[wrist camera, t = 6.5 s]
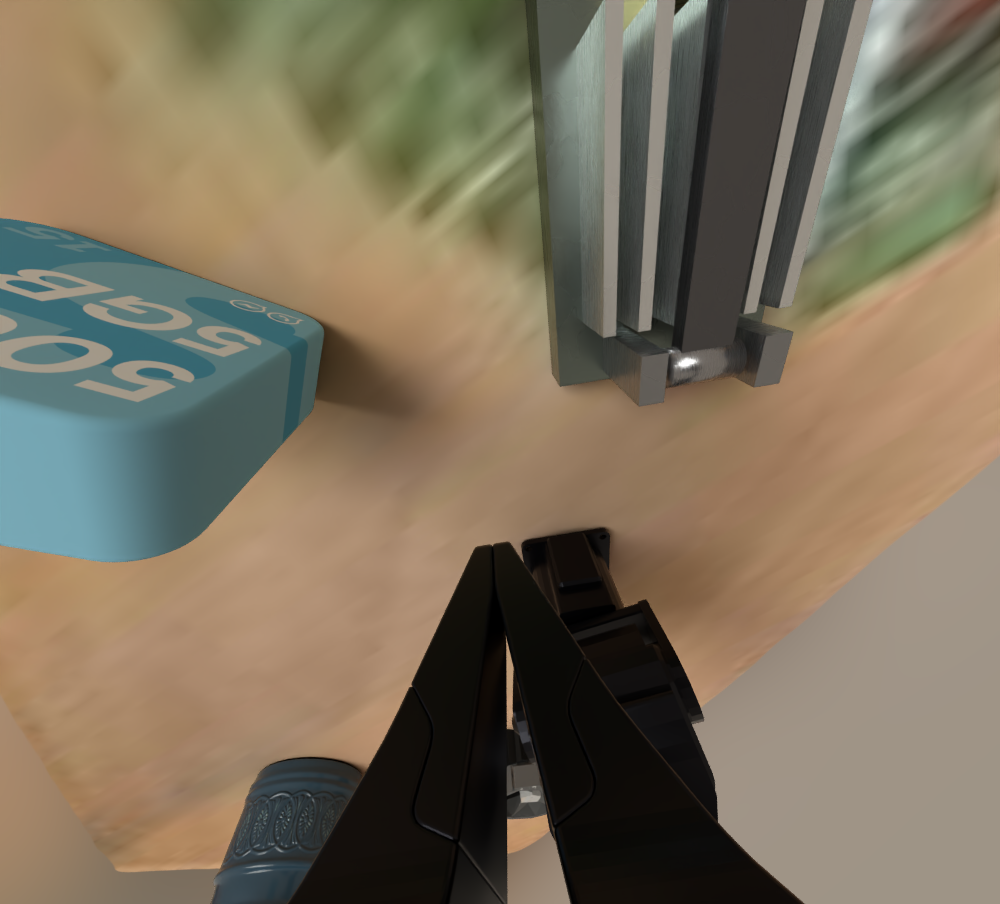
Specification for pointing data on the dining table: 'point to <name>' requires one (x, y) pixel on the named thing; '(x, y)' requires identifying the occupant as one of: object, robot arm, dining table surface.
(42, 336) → the data package
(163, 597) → the dining table surface
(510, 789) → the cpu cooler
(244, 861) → the canister
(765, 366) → the heatsink
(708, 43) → the dark grey bar
